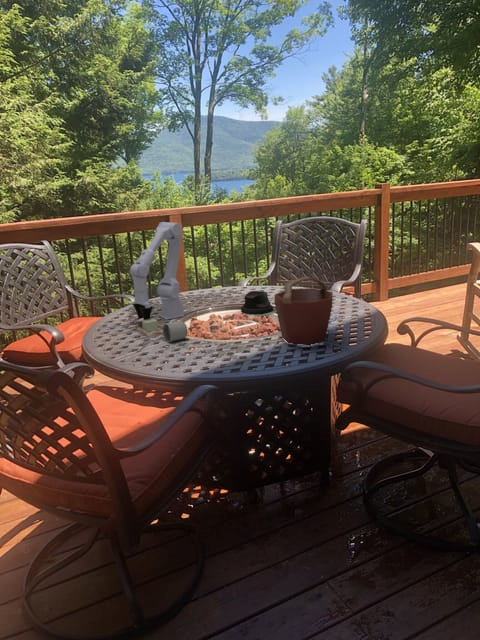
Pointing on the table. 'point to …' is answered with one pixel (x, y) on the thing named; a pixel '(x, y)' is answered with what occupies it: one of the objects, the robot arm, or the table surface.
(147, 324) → the sage block
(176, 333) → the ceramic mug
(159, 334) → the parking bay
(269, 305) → the dark fedora hat
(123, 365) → the table surface
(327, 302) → the bucket
